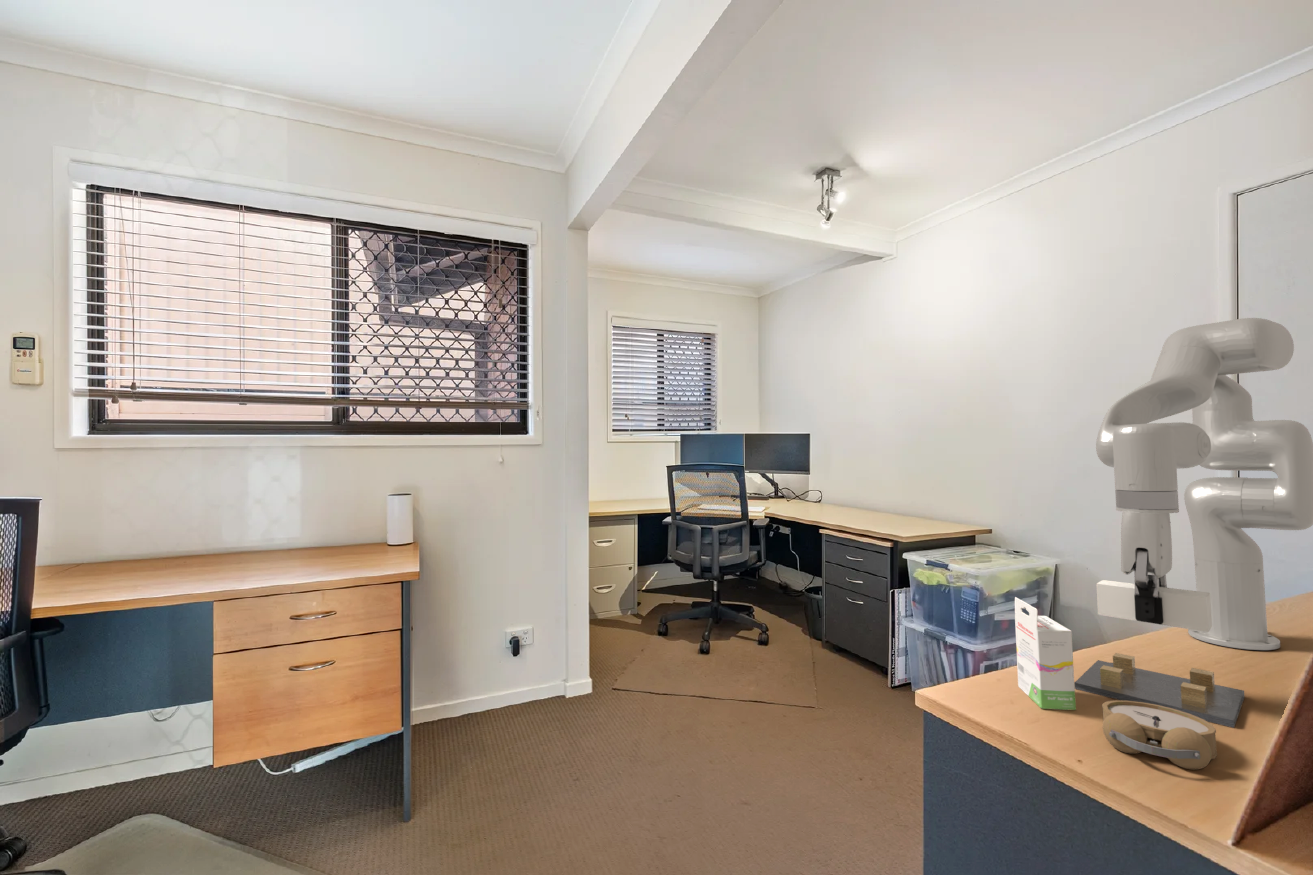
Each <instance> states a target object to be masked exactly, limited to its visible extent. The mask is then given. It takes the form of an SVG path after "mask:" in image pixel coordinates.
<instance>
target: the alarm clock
mask: <svg viewBox="0 0 1313 875" xmlns="http://www.w3.org/2000/svg"><path fill="white" fill-rule="evenodd" d="M1101 707H1102V716H1103V719H1102V720H1103V721H1102V731H1103V735H1104V737H1105V738H1106V740H1107V741H1108V743H1109V744H1110V745H1111V746H1112V747H1114V749H1117V750H1118V751H1120V752H1122V753H1125V754H1130V755H1134V754H1140V753H1141V752H1143V753H1146V754H1148V755H1153V756H1156V757H1157V756H1158V757H1161V758H1162V757H1163V758H1166V759H1168V760H1169V761H1170V762H1171V763H1173V764H1174V765H1176V766H1178V767H1180V768H1183V769H1185V770H1190V771H1191V770H1192V771H1193V770H1194V771H1195V770H1200V769H1204V768H1205V767H1206V766H1208V765H1209V763H1210V762H1211V760H1215V759H1216V757H1217V756H1218V751H1217V741H1216V740H1217V737H1216V733H1217V730H1216V728H1215V726H1214V725H1213V723H1211V722H1208V721H1205V720H1204V719H1201V718H1199V717H1196V716H1194V715H1192V714H1189V713H1185V712H1182V711H1179V710H1176V709H1172V708H1168V707H1164V706H1160V705H1155V704H1149V703H1144V702H1136V701H1124V700H1118V699H1114V700H1107V701H1105V702H1104V703H1102V704H1101Z"/></svg>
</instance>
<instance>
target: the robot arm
mask: <svg viewBox="0 0 1313 875" xmlns="http://www.w3.org/2000/svg"><path fill="white" fill-rule="evenodd" d="M1294 348H1295V345H1294V340H1293V337H1292V334H1291V332H1290V331H1289V330H1288V328H1287V327H1285V325H1283V324H1280V323H1279V322H1275V321H1274V320H1273V321H1272V320H1270V319H1266V318H1262V317H1260V318H1259V317H1245V318H1238V319H1237V318H1236V319H1232V320H1225V321H1218V322H1217V321H1216V322H1211V323H1204V324H1199V325H1193V326H1189V327H1184V328H1181V329H1179V330H1176V331H1174V332H1172V334H1169V336H1168V337H1167V338H1166V339H1165V341H1164V343H1163V345H1162V348H1161V350H1160V353H1159V356H1158V358H1157V362H1156V364H1155V367H1154V370H1153V373H1152V375H1151V378H1150V380H1149V381H1147V382H1145V383H1144V384H1142V385H1141V384H1140V386H1138V387H1137V388H1135V389H1133V390H1131V391H1129V392H1128V394H1125V395H1124V396H1123V397H1121V398H1119V399H1118V400H1117V401H1115V402H1114V403H1113V404H1112V405H1111V406H1110V407H1109V409H1107V412H1106V413H1105V415H1104V417H1103V419H1102V422H1101V424H1100V427H1099V429H1098V433H1097V437H1096V442H1095V448H1096V451H1095V452H1096V454H1097V457H1098V459H1099V460H1100V461H1101V463H1102V464H1104V465H1106V466H1107V467H1110V468H1113V470H1114V471H1113V473H1114V490H1115V510H1116V511H1118V512H1122V515H1121V523H1120V524H1121V527H1120V529H1121V530H1120V531H1121V532H1120V571H1121V572H1122V574H1124V575H1130V574H1132V572H1134V577H1133V578H1134V584H1135V595H1134V599H1135V618H1136V620H1137V621H1136V622H1141V621H1142V623H1147V622H1148V623H1150V624H1153V625H1155V624H1156V625H1160V624H1162V623H1163V606H1162V598H1161V597H1159V587H1166V588H1168V586H1167V574H1168V573H1170V571H1171V570H1172V568H1173V541H1172V527H1171V525H1172V524H1171V516H1170V514H1174V513H1175V514H1177V513H1179V512H1180V509H1179V507H1180V505H1179V504H1180V503H1179V489H1178V488H1179V487H1178V486H1179V485H1178V473H1177V471H1178V470H1177V469H1190V468H1194V467H1197V466H1200V467H1201V468H1204V469H1206V470H1207V469H1208V470H1214V471H1239V472H1241V471H1249V472H1250V471H1254V472H1255V471H1258V472H1259V471H1262V472H1263V471H1265V472H1266V471H1268V472H1273V473H1275V474H1276V475H1277V477H1276V478H1275V477H1273V478H1271V477H1270V478H1269V477H1259V478H1258V477H1237V476H1236V477H1234V476H1233V477H1231V476H1230V477H1229V476H1228V477H1227V476H1224V477H1222V476H1219V477H1218V476H1217V477H1214V476H1213V477H1204V478H1199V479H1196V480H1193V481H1192V482H1191V483H1189V484H1188V485H1187V486H1186V488H1185V489H1184V494H1183V496H1184V497H1183V500H1184V505H1185V510H1186V512H1187V516H1188V519H1189V523H1190V529H1191V536H1192V542H1193V544H1192V545H1193V558H1194V571H1195V572H1194V573H1195V576H1194V577H1195V591H1199V592H1207V593H1210V600H1211V617H1212V627H1211V629H1210V630H1209V632H1204V631H1198V630H1191V629H1187V630H1188V634H1189V636H1190V637H1192V638H1193V639H1197V640H1199V641H1202V642H1205V643H1208V644H1209V643H1210V644H1213V645H1217V646H1222V647H1227V648H1234V649H1240V650H1241V649H1242V650H1250V651H1272V650H1277V649H1280V648H1281V640H1280V639H1279V638H1277V637H1276V636H1273V635H1272V634H1268V621H1267V620H1268V619H1267V606H1266V605H1267V602H1266V591H1265V588H1266V587H1265V573H1264V571H1265V570H1264V556H1263V552H1262V550H1261V548H1260V546H1259V544H1258V543H1257V542H1256V541H1255V540H1254V539H1253V538H1252V537H1251V536H1250V535H1249V534H1248V533H1247V532H1245V530H1243V529H1261V530H1262V529H1263V530H1275V531H1276V530H1279V531H1281V530H1282V531H1302V530H1303V531H1304V530H1306V529H1307V530H1308V529H1310V528H1311V527H1312V526H1313V439H1312V435H1311V433H1310V431H1309V429H1308V428H1307V426H1305V425H1304V424H1303V423H1301V422H1299V421H1295V420H1291V419H1274V420H1273V419H1269V420H1255V419H1254V415H1253V397H1252V395H1251V394H1250V392H1249V391H1248V390H1247V389H1246V388H1245V387H1244V386H1242V385H1241V384H1240V383H1238V382H1237V381H1235V380H1234V379H1232V378H1231V377H1229V376H1230V375H1239V374H1248V373H1257V372H1258V373H1259V372H1269V371H1276V370H1277V371H1278V370H1280V369H1283V368H1284V367H1286V366H1287V365H1288V364H1289V363H1290V362H1291V360H1292V359H1293V356H1294V352H1295V349H1294ZM1228 375H1229V376H1228ZM1189 410H1191V411H1192V414H1191V415H1192V416H1191V417H1192V423H1191V422H1182V421H1180V422H1178V421H1177V422H1159V423H1158V422H1157V423H1156V422H1155V421H1158V420H1161V419H1164V418H1168V417H1171V416H1172V417H1173V416H1174V415H1175V416H1176V415H1179V414H1181V413H1184V412H1186V411H1189Z"/></svg>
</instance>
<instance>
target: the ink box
mask: <svg viewBox="0 0 1313 875" xmlns="http://www.w3.org/2000/svg"><path fill="white" fill-rule="evenodd" d="M1023 610H1026V611H1027V612H1028V614H1027V613H1025V612H1024V611H1023ZM1038 613H1039V611H1038V609H1037V608H1036V607H1034V606H1032V605H1031V604H1029V603H1028V602H1026V601H1024V600H1022V599H1020V598H1018V597H1016V596H1015V597H1014V623H1015V626H1014V628H1015V643H1016V644H1015V646H1016V647H1015V648H1016V664H1017V668H1016V670H1017V686H1018V688H1019V689H1021V691H1022V692H1024V693H1025V694H1026V696H1028V697H1029V698H1030V699H1031V700H1032V702H1034V703H1035V704H1036V705H1037V706H1038V707H1039V708H1040V709H1045V710H1061V711H1063V710H1064V711H1070V710H1071V711H1076V710H1077V704H1076V689H1075V674H1074V673H1075V672H1074V671H1075V670H1074V658H1073V657H1074V656H1073V631H1072V630H1070V629H1069V628H1067V627H1066V626H1064V625H1062V624H1060V623H1059V622H1057V621H1056V620H1053V619H1052V618H1050V617H1048V616H1047V615H1039V614H1038Z"/></svg>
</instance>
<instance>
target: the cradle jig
mask: <svg viewBox="0 0 1313 875" xmlns="http://www.w3.org/2000/svg"><path fill="white" fill-rule="evenodd" d="M1135 658H1136V656H1133V655H1129V654H1123V653H1118V652H1115V653H1114V654H1113V655H1112V662H1108V661H1103V660H1098V659H1097V660H1096V661H1095V662H1094V663H1093V664H1092V665H1091V666H1090V667H1089V668H1088V669H1087V670H1086V671H1085V672H1083V673H1082V674H1081V675H1080V677H1078V678H1077V679H1076V681H1074V685H1075V690H1078V691H1082V692H1086V693H1090V694H1094V695H1099V696H1103V697H1106V698H1110V699H1114V700H1124V701H1136V702H1144V703H1149V704H1155V705H1160V706H1164V707H1168V708H1172V709H1176V710H1179V711H1182V712H1185V713H1189V714H1192V715H1194V716H1196V717H1199V718H1201V719H1204V720H1205V721H1207V722H1209V723H1211V724H1217V725H1221V726H1225V727H1229V728H1232V729H1235V726H1236V724H1237V721H1238V717H1239V715H1240V711H1241V708H1242V705H1243V703H1244V700H1245V696H1246V695H1245V690H1244V689H1243V690H1242V689H1238V688H1235V687H1234V688H1233V687H1229V686H1223V685H1220V684H1216V683H1215V672H1214V671H1210V670H1205V669H1201V668H1200V669H1199V668H1195V667H1191V668H1190V670H1189V678H1186V677H1180V676H1177V675H1171V674H1167V673H1161V672H1156V671H1152V670H1146V669H1142V668H1139V667H1136V660H1135Z"/></svg>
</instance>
